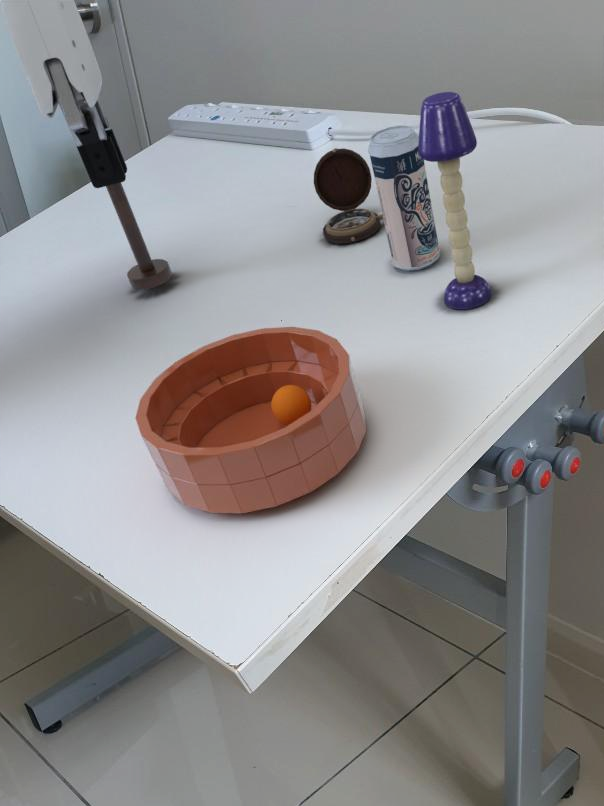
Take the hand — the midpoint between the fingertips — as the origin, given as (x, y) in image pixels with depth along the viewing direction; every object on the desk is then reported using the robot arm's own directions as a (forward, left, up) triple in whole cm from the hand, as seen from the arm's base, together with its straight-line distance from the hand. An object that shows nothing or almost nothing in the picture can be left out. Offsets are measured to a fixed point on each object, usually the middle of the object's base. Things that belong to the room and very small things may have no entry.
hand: (111, 178), depth 84 cm
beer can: (+27, -8, -12) cm, 31 cm away
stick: (0, 0, -11) cm, 11 cm away
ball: (+16, -32, -9) cm, 37 cm away
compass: (+22, +3, -12) cm, 25 cm away
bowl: (+13, -34, -11) cm, 38 cm away
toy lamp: (+31, -17, -12) cm, 37 cm away
